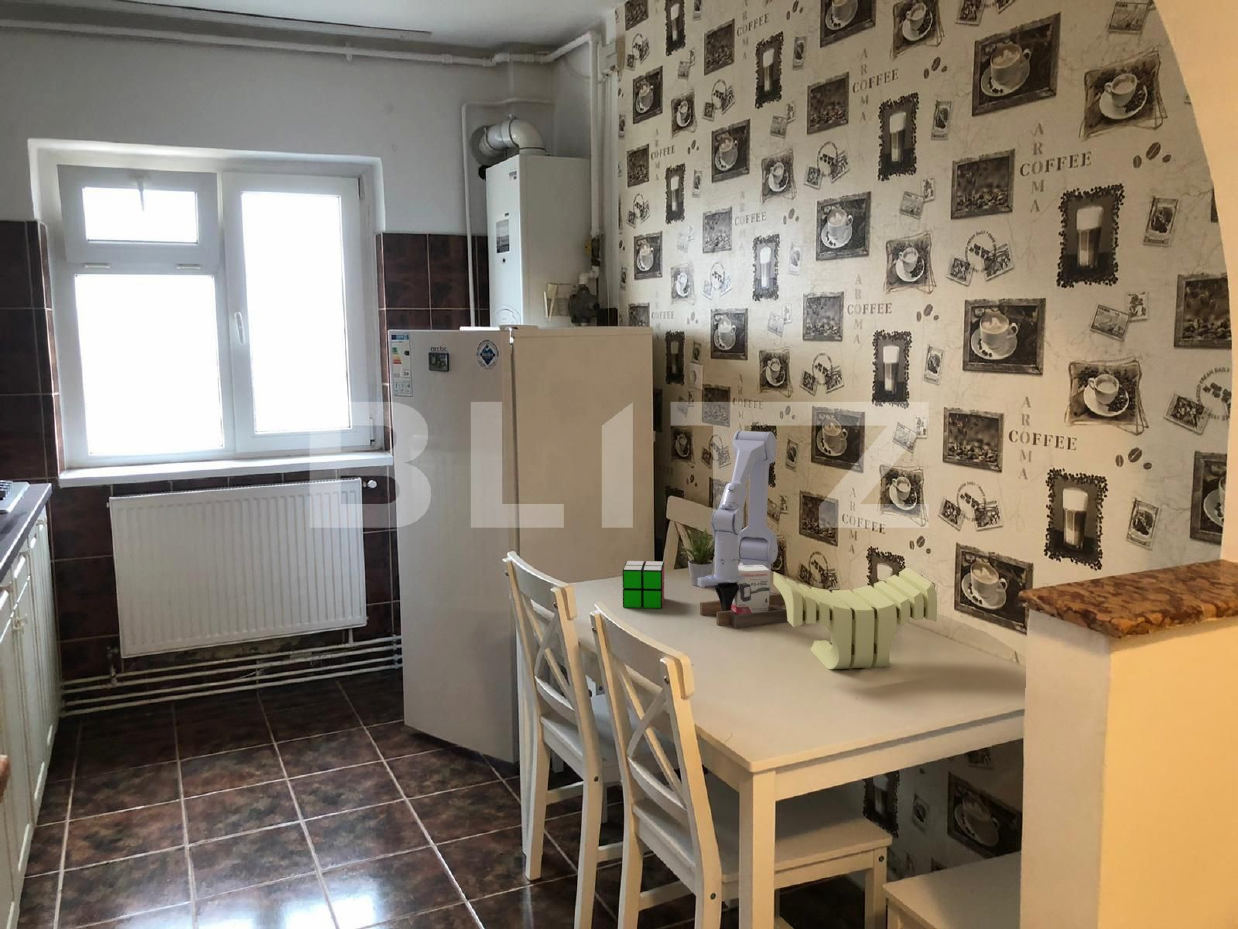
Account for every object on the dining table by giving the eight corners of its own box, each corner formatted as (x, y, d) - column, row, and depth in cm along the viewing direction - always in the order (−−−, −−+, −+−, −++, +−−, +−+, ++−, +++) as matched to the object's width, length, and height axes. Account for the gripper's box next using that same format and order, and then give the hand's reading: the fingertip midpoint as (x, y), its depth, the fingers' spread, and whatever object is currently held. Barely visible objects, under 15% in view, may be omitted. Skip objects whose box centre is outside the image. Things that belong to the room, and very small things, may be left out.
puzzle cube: (664, 598, 258) (664, 561, 257) (662, 609, 248) (662, 570, 247) (626, 597, 259) (626, 560, 258) (622, 608, 249) (622, 569, 248)
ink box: (736, 617, 240) (737, 570, 238) (729, 612, 245) (731, 565, 243) (769, 616, 242) (771, 569, 240) (762, 610, 247) (763, 564, 245)
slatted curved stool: (792, 676, 200) (793, 590, 198) (772, 650, 216) (773, 571, 214) (934, 670, 203) (937, 586, 201) (904, 645, 219) (907, 567, 217)
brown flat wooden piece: (700, 614, 244) (700, 602, 243) (808, 601, 255) (808, 589, 254) (726, 630, 231) (726, 617, 230) (839, 615, 242) (839, 603, 241)
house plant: (739, 581, 274) (740, 524, 272) (717, 593, 263) (718, 533, 260) (694, 575, 282) (694, 519, 280) (670, 586, 270) (670, 527, 268)
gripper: (706, 564, 232) (706, 620, 234) (761, 559, 237) (760, 614, 239) (693, 558, 239) (693, 612, 241) (747, 553, 244) (746, 606, 246)
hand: (725, 612), depth 240 cm, fingers closed
